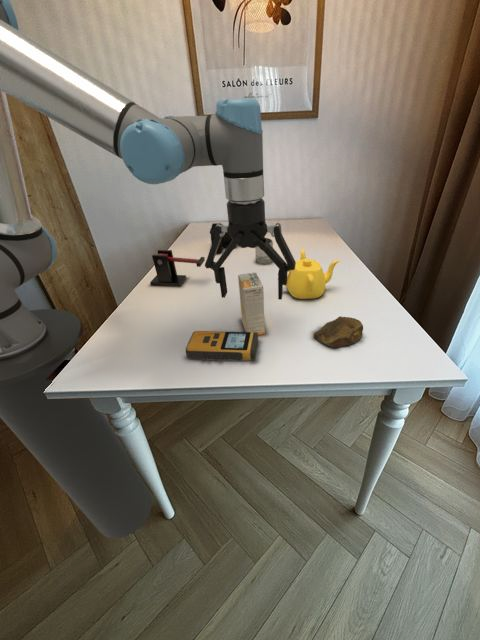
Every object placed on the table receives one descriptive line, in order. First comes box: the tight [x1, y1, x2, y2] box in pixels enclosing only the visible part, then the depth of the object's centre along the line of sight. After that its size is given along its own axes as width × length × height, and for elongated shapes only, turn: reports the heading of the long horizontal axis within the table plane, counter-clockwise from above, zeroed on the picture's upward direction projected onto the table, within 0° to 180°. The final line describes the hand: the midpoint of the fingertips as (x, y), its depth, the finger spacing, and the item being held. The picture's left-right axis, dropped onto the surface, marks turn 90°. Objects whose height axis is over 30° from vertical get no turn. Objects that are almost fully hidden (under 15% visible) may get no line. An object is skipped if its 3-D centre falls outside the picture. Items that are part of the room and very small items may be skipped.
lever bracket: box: [149, 249, 187, 288], centre depth 99 cm, size 10×6×10 cm, turn 82°
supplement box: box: [237, 272, 266, 336], centre depth 76 cm, size 8×5×13 cm, turn 12°
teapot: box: [284, 248, 341, 300], centre depth 91 cm, size 14×13×10 cm
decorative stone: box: [312, 316, 364, 349], centre depth 74 cm, size 10×9×4 cm
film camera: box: [209, 222, 238, 255], centre depth 122 cm, size 15×10×9 cm, turn 1°
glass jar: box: [254, 237, 274, 265], centre depth 110 cm, size 6×6×8 cm
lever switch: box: [157, 253, 206, 268], centre depth 96 cm, size 14×5×2 cm, turn 82°
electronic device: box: [185, 330, 259, 362], centre depth 71 cm, size 8×16×3 cm, turn 85°
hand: (252, 295), depth 74 cm, fingers open, 13 cm apart
